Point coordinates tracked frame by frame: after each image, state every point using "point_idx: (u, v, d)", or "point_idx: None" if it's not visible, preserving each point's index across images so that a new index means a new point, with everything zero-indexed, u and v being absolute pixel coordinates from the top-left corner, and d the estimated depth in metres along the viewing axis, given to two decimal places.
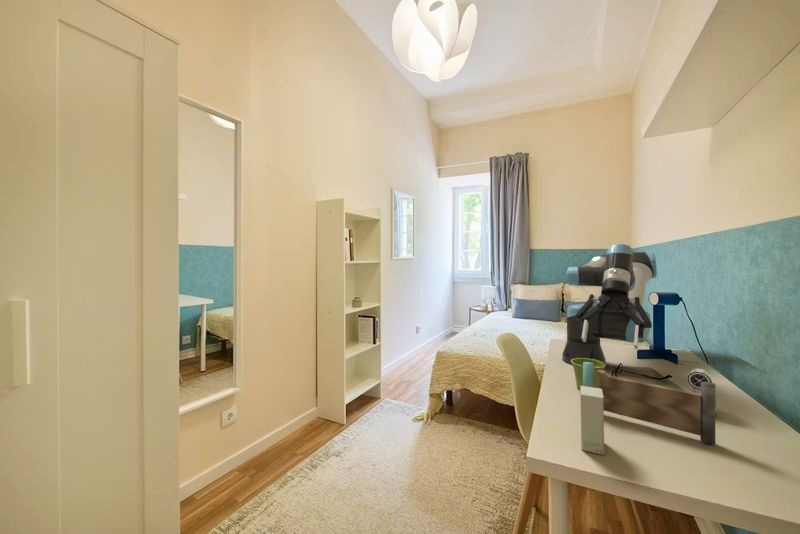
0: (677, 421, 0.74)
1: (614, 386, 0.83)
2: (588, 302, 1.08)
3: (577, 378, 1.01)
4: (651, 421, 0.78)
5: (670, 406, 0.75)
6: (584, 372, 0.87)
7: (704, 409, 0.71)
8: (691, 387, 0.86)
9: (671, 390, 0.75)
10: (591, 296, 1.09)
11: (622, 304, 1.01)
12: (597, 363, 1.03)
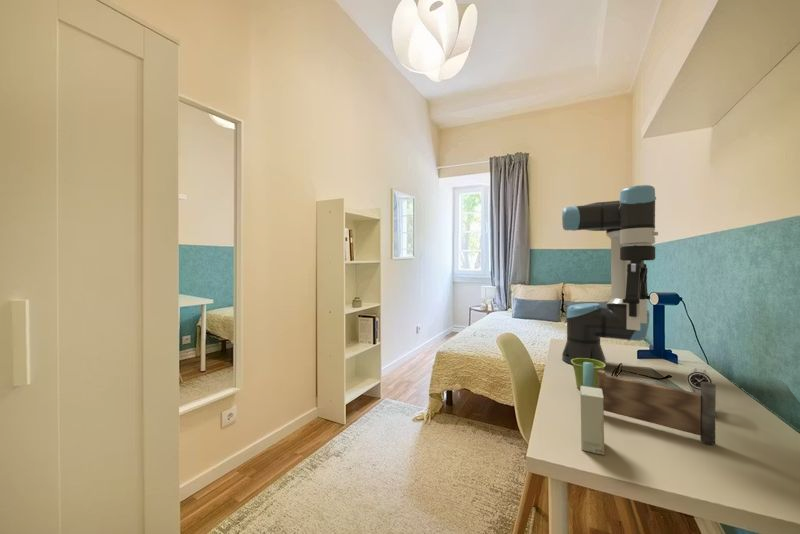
0: (677, 421, 0.74)
1: (614, 386, 0.83)
2: (639, 276, 0.79)
3: (577, 378, 1.01)
4: (651, 421, 0.78)
5: (670, 406, 0.75)
6: (584, 372, 0.87)
7: (704, 409, 0.71)
8: (691, 387, 0.86)
9: (671, 390, 0.75)
10: (639, 267, 0.80)
11: (646, 276, 0.86)
12: (597, 363, 1.03)
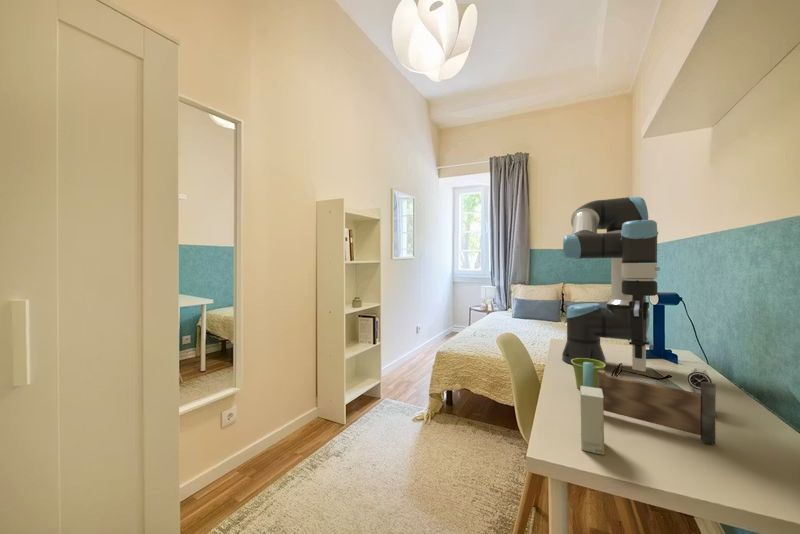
0: (677, 421, 0.74)
1: (614, 386, 0.83)
2: (642, 320, 0.80)
3: (577, 378, 1.01)
4: (651, 421, 0.78)
5: (670, 406, 0.75)
6: (584, 372, 0.87)
7: (704, 409, 0.71)
8: (691, 387, 0.86)
9: (671, 390, 0.75)
10: (642, 312, 0.79)
11: (647, 313, 0.84)
12: (597, 363, 1.03)
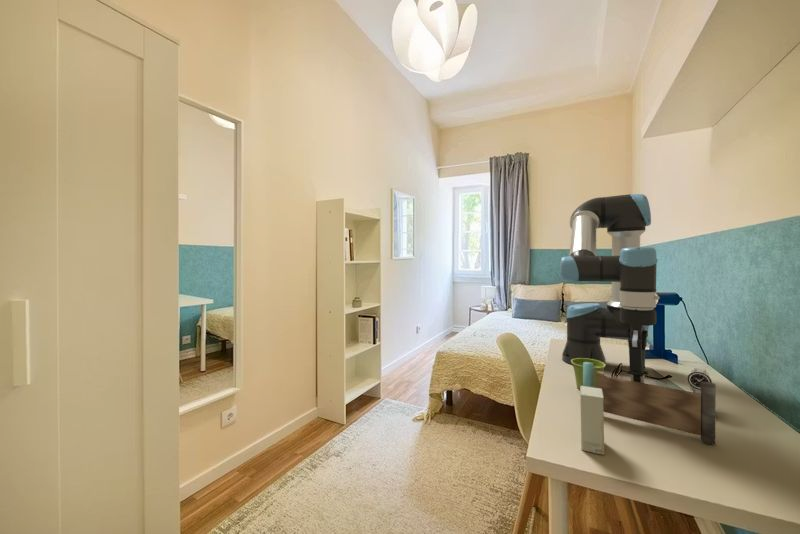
0: (677, 421, 0.74)
1: (614, 387, 0.82)
2: (641, 351, 0.78)
3: (577, 378, 1.01)
4: (651, 422, 0.77)
5: (670, 406, 0.75)
6: (584, 372, 0.87)
7: (705, 409, 0.71)
8: (691, 387, 0.86)
9: (671, 390, 0.75)
10: None
11: (646, 342, 0.82)
12: (597, 363, 1.03)
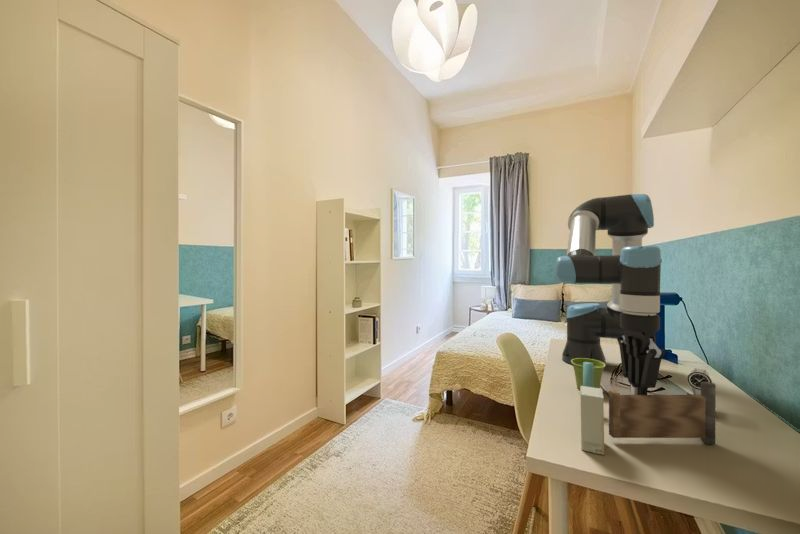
0: (687, 429, 0.71)
1: (630, 406, 0.71)
2: None
3: (577, 378, 1.01)
4: (665, 436, 0.71)
5: (681, 415, 0.71)
6: (584, 372, 0.87)
7: (709, 410, 0.70)
8: (691, 387, 0.86)
9: (682, 398, 0.71)
10: None
11: None
12: (597, 363, 1.03)
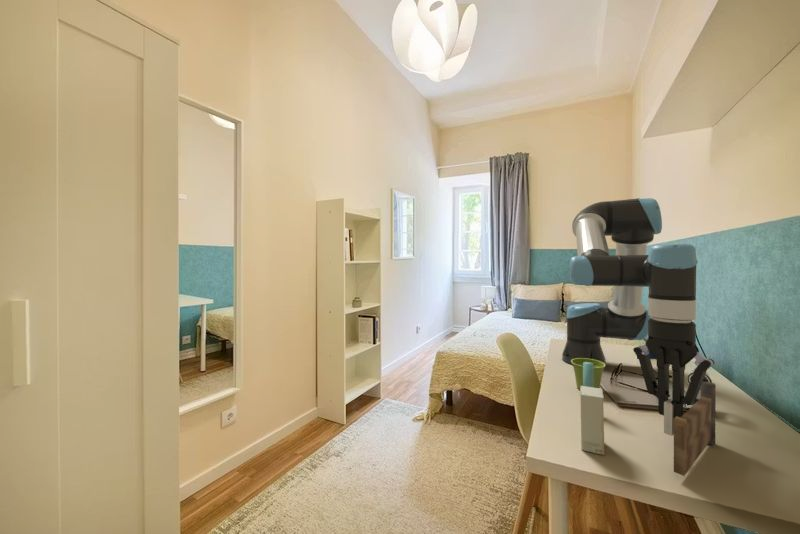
0: (706, 436, 0.68)
1: (690, 431, 0.61)
2: None
3: (577, 378, 1.01)
4: (700, 452, 0.65)
5: (705, 423, 0.67)
6: (584, 372, 0.87)
7: (713, 410, 0.70)
8: None
9: (704, 405, 0.67)
10: None
11: None
12: (597, 363, 1.03)
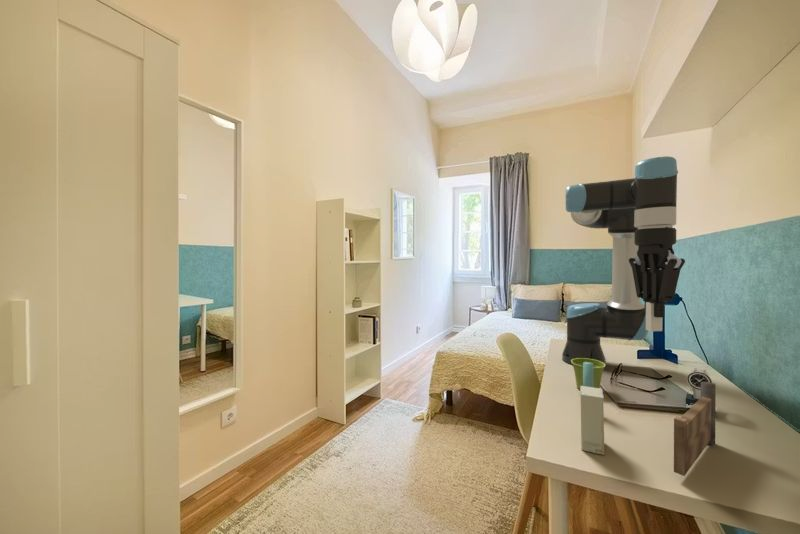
0: (706, 436, 0.68)
1: (690, 431, 0.61)
2: None
3: (577, 378, 1.01)
4: (700, 452, 0.65)
5: (705, 423, 0.67)
6: (584, 372, 0.87)
7: (713, 410, 0.70)
8: (691, 387, 0.86)
9: (704, 405, 0.67)
10: None
11: None
12: (597, 363, 1.03)
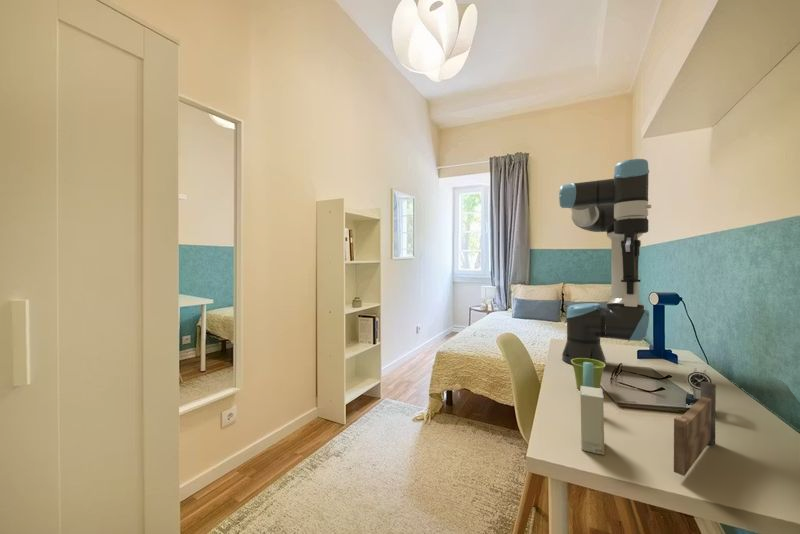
0: (706, 436, 0.68)
1: (690, 431, 0.61)
2: (634, 255, 0.83)
3: (577, 378, 1.01)
4: (700, 452, 0.65)
5: (705, 423, 0.67)
6: (584, 372, 0.87)
7: (713, 410, 0.70)
8: (691, 387, 0.86)
9: (704, 405, 0.67)
10: (633, 247, 0.82)
11: None
12: (597, 363, 1.03)
